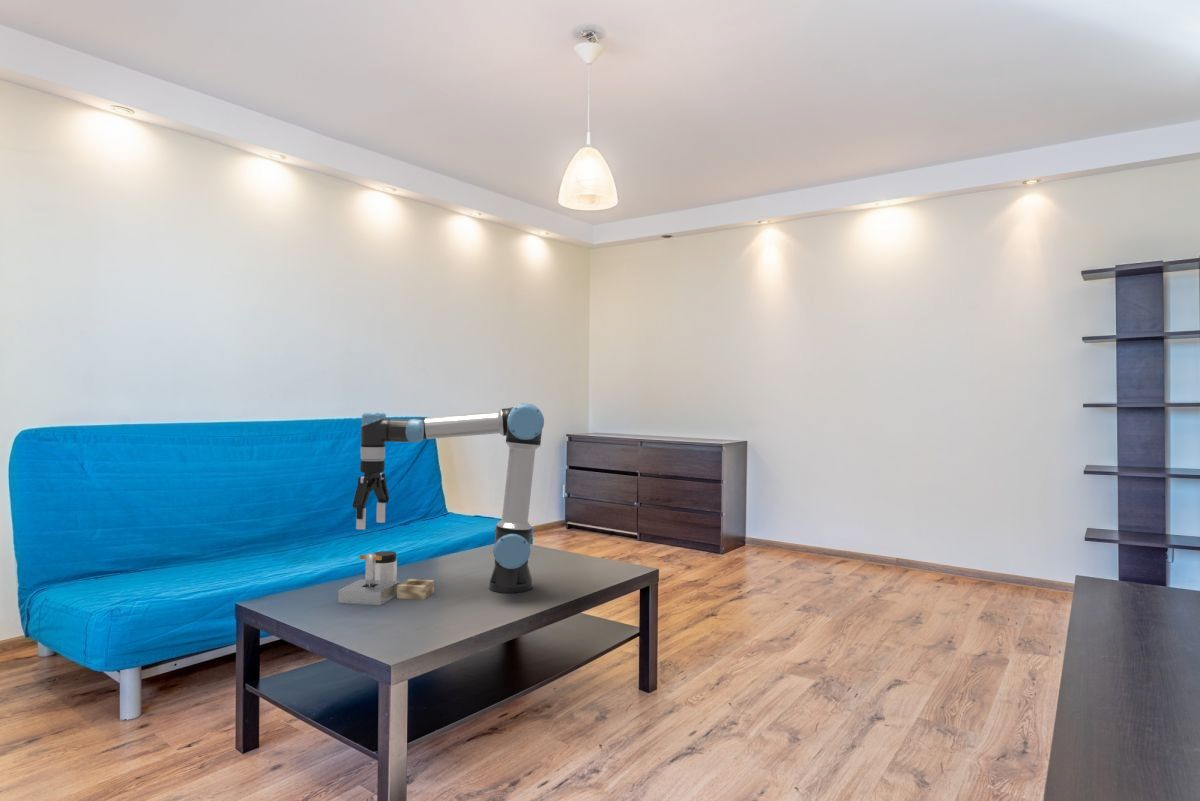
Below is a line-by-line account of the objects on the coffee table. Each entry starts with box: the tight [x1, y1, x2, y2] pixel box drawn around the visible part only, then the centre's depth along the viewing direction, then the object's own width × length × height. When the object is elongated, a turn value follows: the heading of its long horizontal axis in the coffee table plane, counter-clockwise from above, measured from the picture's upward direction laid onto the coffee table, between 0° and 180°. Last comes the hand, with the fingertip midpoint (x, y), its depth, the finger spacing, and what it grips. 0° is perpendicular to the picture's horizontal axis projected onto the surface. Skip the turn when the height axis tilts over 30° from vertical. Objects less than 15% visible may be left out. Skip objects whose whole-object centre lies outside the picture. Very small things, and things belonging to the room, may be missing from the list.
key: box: [359, 553, 382, 588], centre depth 217 cm, size 7×3×14 cm, turn 82°
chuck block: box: [337, 578, 401, 606], centre depth 217 cm, size 14×14×5 cm
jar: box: [372, 550, 398, 581], centre depth 233 cm, size 9×8×12 cm
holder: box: [396, 578, 435, 601], centre depth 221 cm, size 9×9×5 cm
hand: (371, 525), depth 218 cm, fingers open, 13 cm apart
